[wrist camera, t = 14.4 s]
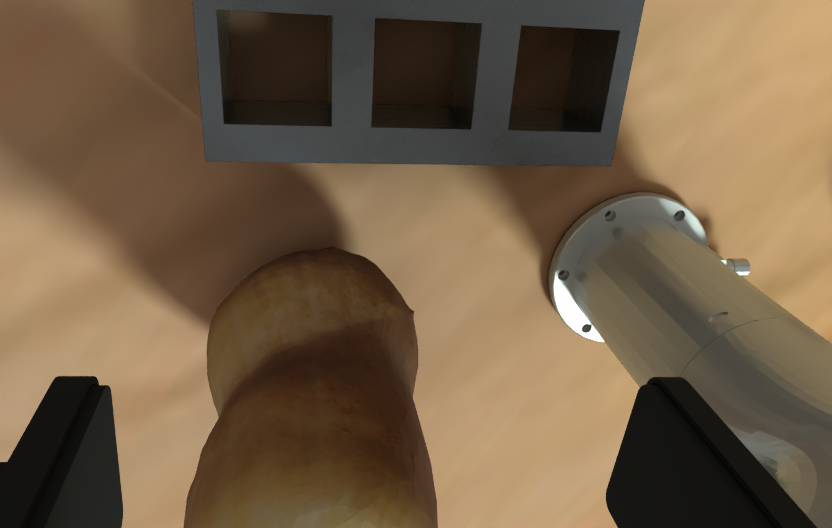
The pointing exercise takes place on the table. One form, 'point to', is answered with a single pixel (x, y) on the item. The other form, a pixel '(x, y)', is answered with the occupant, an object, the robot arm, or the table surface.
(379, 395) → the butternut squash
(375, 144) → the graphite rack rail
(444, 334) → the table surface
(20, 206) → the table surface
